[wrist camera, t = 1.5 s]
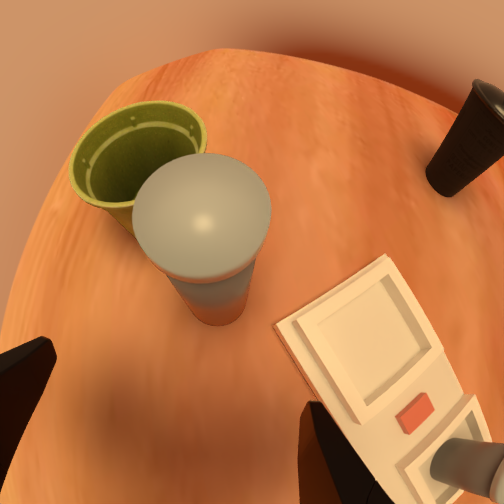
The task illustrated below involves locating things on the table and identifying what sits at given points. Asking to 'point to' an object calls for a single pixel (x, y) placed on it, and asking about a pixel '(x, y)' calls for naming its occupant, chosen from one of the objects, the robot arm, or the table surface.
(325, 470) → the robot arm
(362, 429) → the peg insertion board
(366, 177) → the table surface
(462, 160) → the drinking cup
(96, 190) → the plant pot
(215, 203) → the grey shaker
